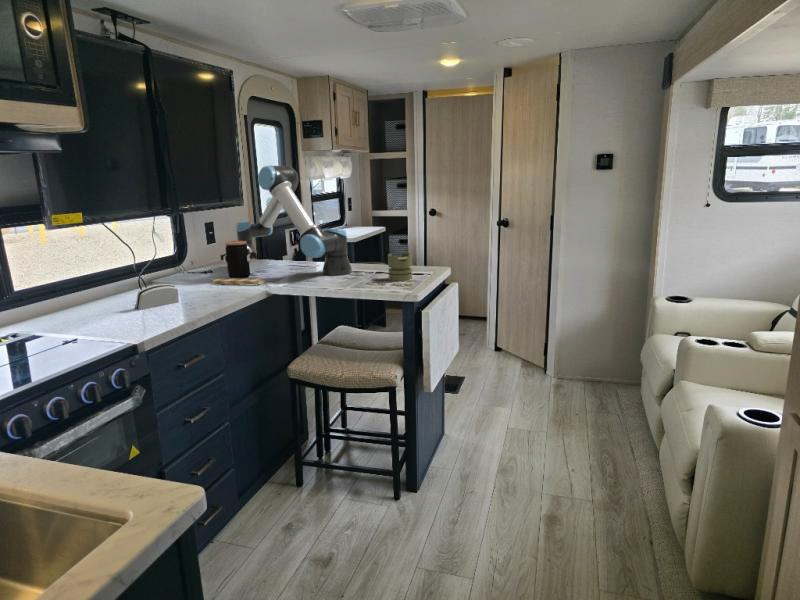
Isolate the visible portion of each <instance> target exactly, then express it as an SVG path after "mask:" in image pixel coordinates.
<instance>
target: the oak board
mask: <svg viewBox="0 0 800 600" xmlns="http://www.w3.org/2000/svg"><path fill="white" fill-rule="evenodd" d="M262 282H265V283H266V278H265V277H264V278H255V277H254V278H253V277H251V278H250V277H248V278H230V277H219V278H217V279H214V280H212V285H213V284H228V285H227V286H241V285H240V284H260V283H262ZM229 284H230V285H229Z"/></svg>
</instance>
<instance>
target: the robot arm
mask: <svg viewBox="0 0 800 600" xmlns="http://www.w3.org/2000/svg"><path fill="white" fill-rule="evenodd" d="M257 180H258V184H259V187H260V188H261V189H263V190H265V191H268V192H269V194H270V195H271V196H272V197H271V199H270V200H269V202H268V204H267V205H266V207H265V209H264V211H263V213H262V214H261V216H260V218H259V220H258V221H257V223H253V224H251V222H250V221H248V220H247V221H245V220H243V221H238V222H237V223H236V232H237V233H236V234H237V241H247V244H246V245H247V247H248V255H247V261H249V262H250V261H251V260H254V259H258V253H257V252H255V247H254V245H253V239H255V238H262V237H267V236H271V235H272V234H273V230H274V228H273V225H274V223H275V221H276V220H277V218H278V216H279V214H280V213H281V212H282V210H284V211H285V213H286V214H287V216H288V218H289V219H290V220H291V222H292V224H293V225H294V227H295V228H296V230H297V231H298V232H299V234H300V235H299V245H300V247H299V248H300V250H301V252H302V253H303V254H304V256H306V257H308V258H310V259H311V258H312V259H314V258H315V259H317V258H321V257H324V258H325V259H324V263H323V267H322V274H323V275H326V276H343V275H349V274H351V273H353V270H352V269H353V268H352V266H351V262H350V260H349V258H348V240H347V239H348V236H347V231H346V230H345V229H343V228H341V229H340V228H324V229H322V228H321V227H320V225H316V224H315V223H314V221H313V219H312V218H311V217H310V215H309V214H308V212H307V211H306V210H307V209H305V207H304V206H303V204H302V203H301V201H300V199H299V198H298V196H297V195H296V194H295V191H296V190H297V187H298V184H299V176H298V172H297V171H296V169H294V168H293V167H292V166H289V165H265V166H263V167H262V168H261V169H260V170H259V172H258V179H257ZM220 260H221V261H223V263H227V258H226V253H223V254H220Z"/></svg>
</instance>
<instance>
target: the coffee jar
mask: <svg viewBox="0 0 800 600" xmlns="http://www.w3.org/2000/svg"><path fill="white" fill-rule="evenodd" d="M246 244H247V241H238V240H230V241H226V242H224V245H225V254H226V258H227V262H226V265H227V275H228V278H250V276H251V268H250V261H247V255H248V247H247V245H246Z"/></svg>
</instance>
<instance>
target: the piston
mask: <svg viewBox="0 0 800 600" xmlns="http://www.w3.org/2000/svg"><path fill="white" fill-rule="evenodd" d="M412 256H413V255H412V253H410V252H402V253H401V255H400V256H399V257H398V255H393V254H392V253H388V254H387V261H388V262H387V263H388V264H387V265H388V280H389V281H392V282H406V281H405V280H408V281H411V280H413V260H412V259H413V257H412ZM410 279H411V280H410Z"/></svg>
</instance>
